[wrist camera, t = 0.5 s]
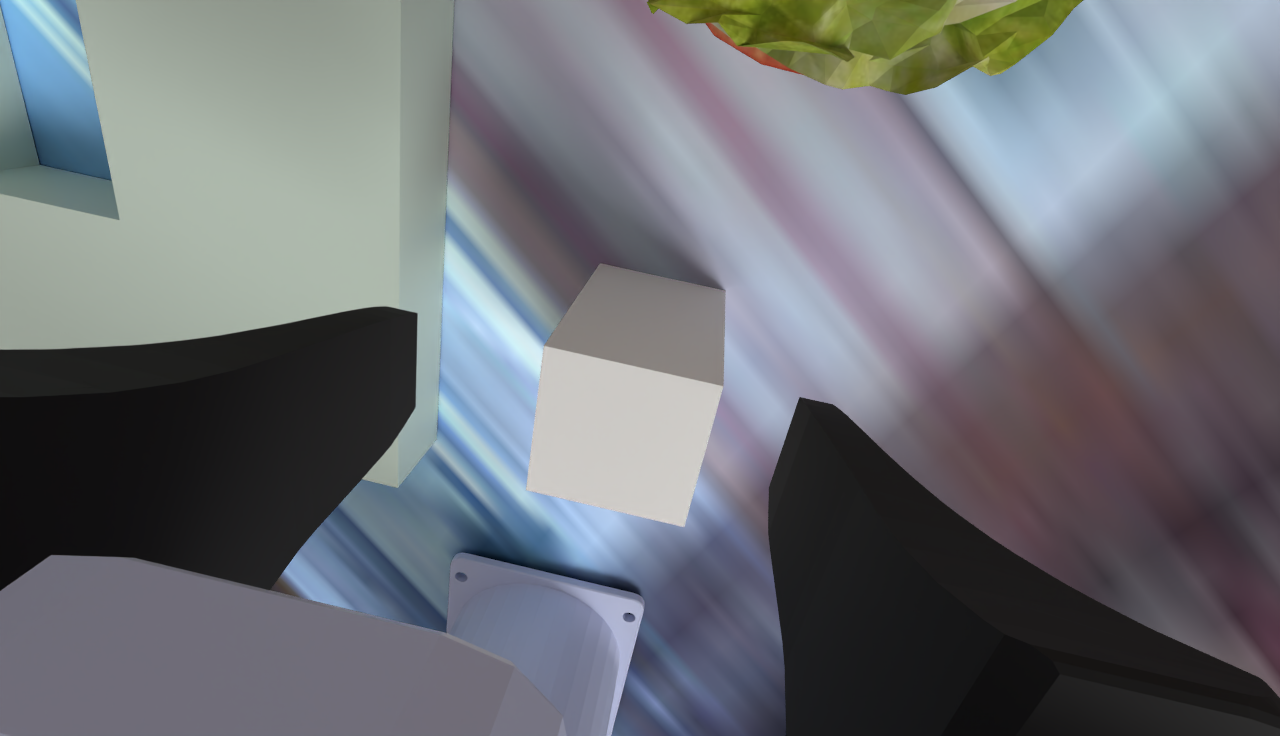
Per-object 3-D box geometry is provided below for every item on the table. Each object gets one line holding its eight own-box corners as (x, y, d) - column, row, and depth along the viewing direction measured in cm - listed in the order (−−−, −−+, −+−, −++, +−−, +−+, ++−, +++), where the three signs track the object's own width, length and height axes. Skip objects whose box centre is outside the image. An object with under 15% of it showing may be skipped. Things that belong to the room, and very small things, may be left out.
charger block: (696, 400, 21) (684, 526, 15) (582, 374, 21) (526, 490, 15) (725, 290, 19) (723, 386, 13) (599, 263, 19) (543, 346, 13)
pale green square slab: (436, 439, 23) (397, 487, 20) (33, 345, 24) (-56, 380, 21) (457, -75, 16) (401, -105, 13) (-123, -191, 16) (-289, -242, 14)
